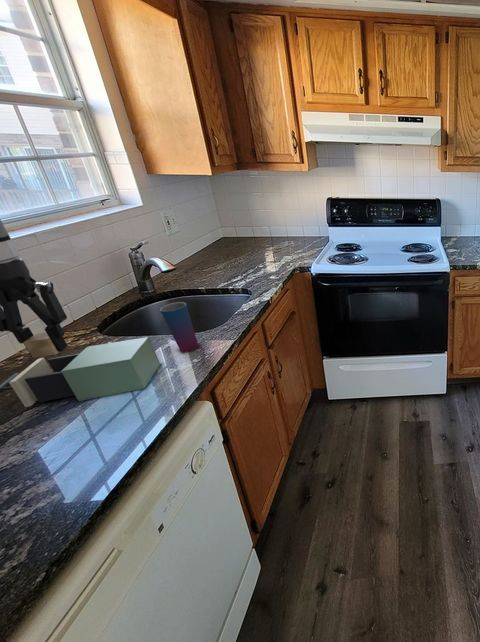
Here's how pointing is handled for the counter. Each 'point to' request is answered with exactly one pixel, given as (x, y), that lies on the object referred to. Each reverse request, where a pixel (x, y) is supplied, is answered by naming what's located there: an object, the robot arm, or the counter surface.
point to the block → (40, 345)
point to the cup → (180, 325)
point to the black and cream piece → (41, 381)
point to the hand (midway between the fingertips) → (49, 350)
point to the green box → (112, 368)
